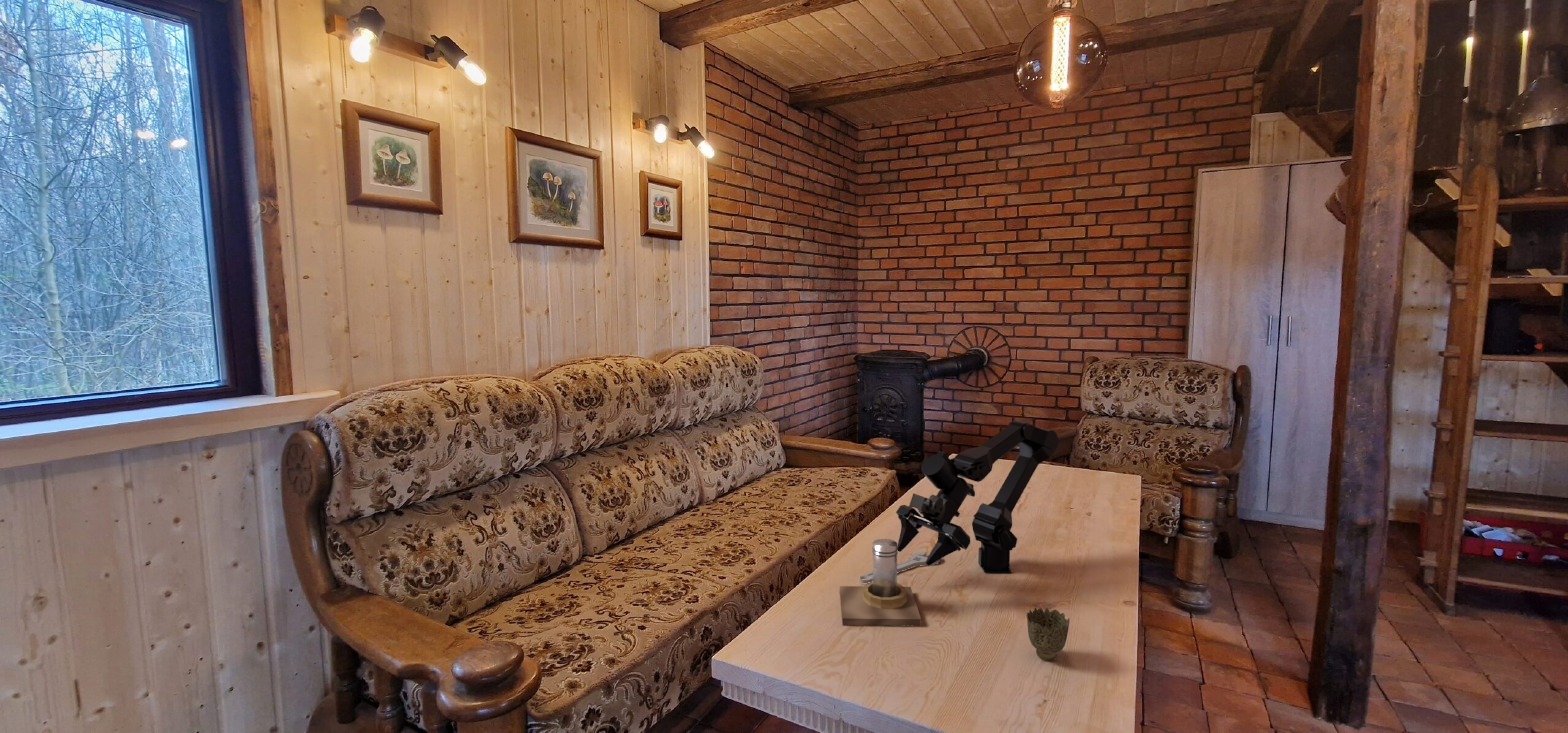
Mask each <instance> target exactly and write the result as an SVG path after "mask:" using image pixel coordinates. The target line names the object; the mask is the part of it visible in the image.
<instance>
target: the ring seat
mask: <svg viewBox="0 0 1568 733" xmlns="http://www.w3.org/2000/svg"><path fill="white" fill-rule="evenodd" d="M839 600H840V612H841V623H842V626H867V627H868V626H872V627H873V625H876V626H877V627H879V626H878V625H897V626H896V627H900V626H899V625H906V626H905V627H922V618H921V615H920V612H919V607H918V604H917V603H916V599H915V596H914V593H913V590H912V587H911V586H903V585H902V584H900V583H898V582H897V596H895V597H891V598H888V597H878V596H874V595H873V582H870V583H867V584H864V586H863V585H862V586H861V585H859V586H858V585H857V586H856V585H854V586H853V585H847V586H846V585H839ZM907 625H909V626H907ZM911 625H913V626H911Z"/></svg>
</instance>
